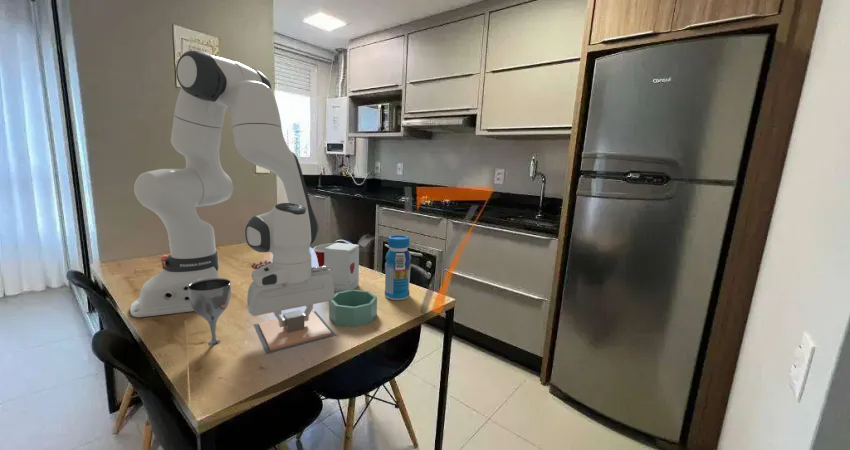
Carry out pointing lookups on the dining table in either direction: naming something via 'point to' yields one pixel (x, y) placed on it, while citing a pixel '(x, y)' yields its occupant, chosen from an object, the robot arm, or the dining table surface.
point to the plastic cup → (321, 253)
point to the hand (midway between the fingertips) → (293, 323)
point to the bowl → (353, 308)
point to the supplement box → (343, 265)
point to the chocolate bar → (261, 264)
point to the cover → (293, 330)
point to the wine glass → (210, 301)
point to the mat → (290, 345)
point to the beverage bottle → (397, 268)
